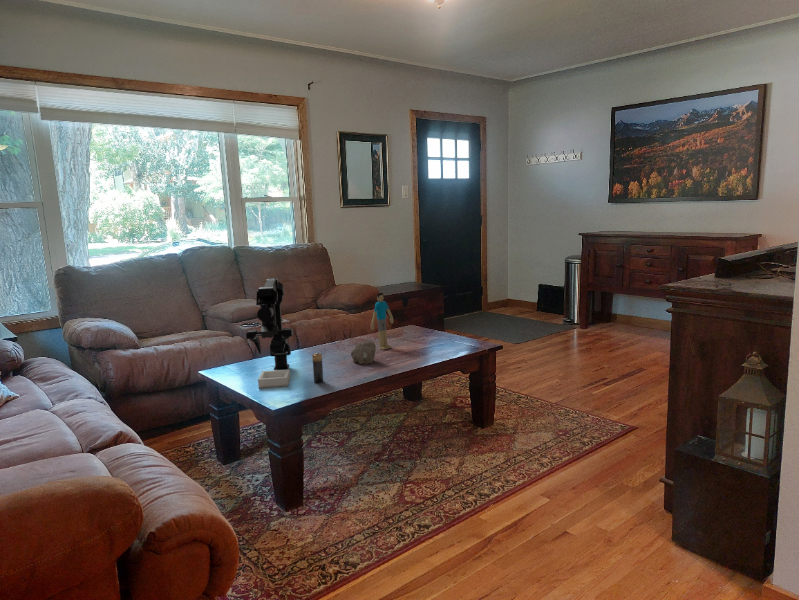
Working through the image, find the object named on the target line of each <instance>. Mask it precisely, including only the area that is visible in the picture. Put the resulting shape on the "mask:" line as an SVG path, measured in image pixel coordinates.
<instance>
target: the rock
mask: <svg viewBox="0 0 799 600" xmlns="http://www.w3.org/2000/svg"><path fill="white" fill-rule="evenodd" d="M376 351H377V346H376V344H375V342H374V341H367V342H366V341H365V342H361V343H359V344H357V345H356V346H355V347H354V349H353V350H352V351H351V353H350V355H351V358H352V362H353V363H358V364H360V365H361V364H365V365H367V364H369V363H370V364H372V363H373V362H374V359H375V358H376Z"/></svg>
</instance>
